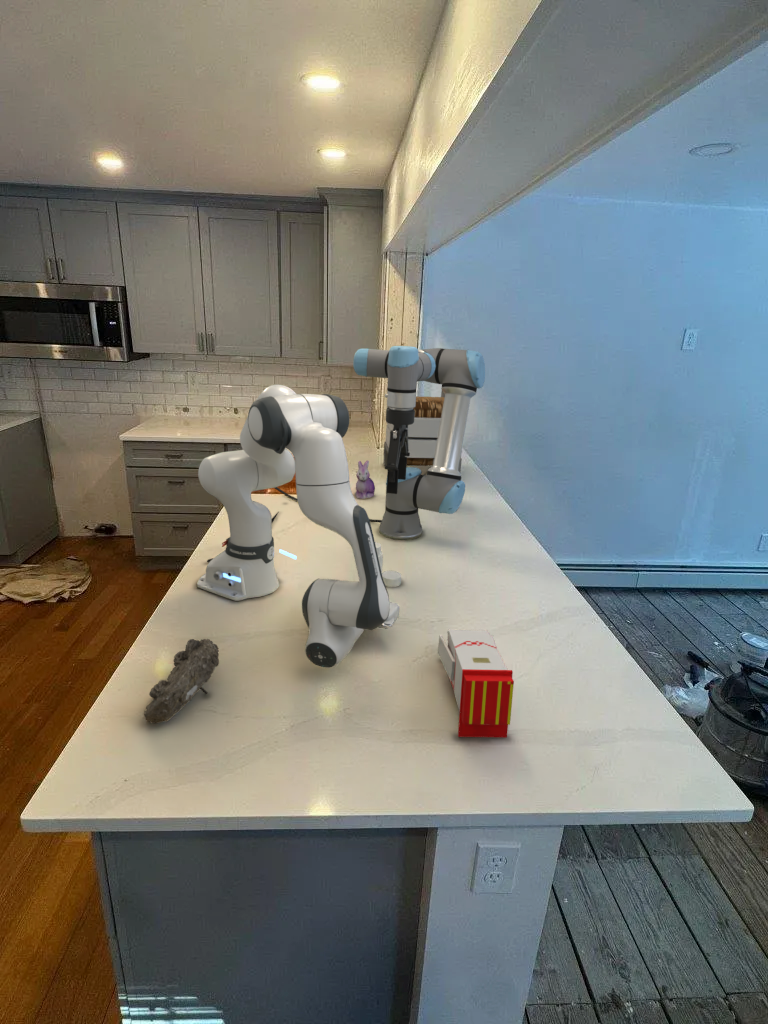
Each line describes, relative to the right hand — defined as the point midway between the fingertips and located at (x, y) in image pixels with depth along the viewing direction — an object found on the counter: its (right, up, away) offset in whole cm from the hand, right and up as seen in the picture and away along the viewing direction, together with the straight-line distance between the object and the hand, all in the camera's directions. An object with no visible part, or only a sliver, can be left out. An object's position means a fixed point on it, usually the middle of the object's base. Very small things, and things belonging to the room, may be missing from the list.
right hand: (396, 485), depth 155 cm
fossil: (-43, -44, -40) cm, 73 cm away
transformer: (+14, +12, +120) cm, 122 cm away
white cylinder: (-1, -26, +9) cm, 27 cm away
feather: (-43, -8, +57) cm, 72 cm away
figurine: (-12, 0, +83) cm, 84 cm away
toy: (+15, -45, -36) cm, 59 cm away
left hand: (-8, -28, -11) cm, 31 cm away
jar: (-7, -33, -6) cm, 34 cm away
